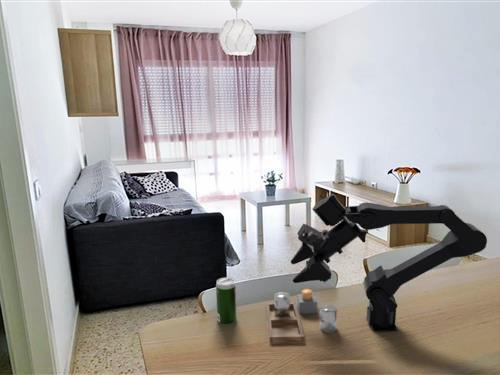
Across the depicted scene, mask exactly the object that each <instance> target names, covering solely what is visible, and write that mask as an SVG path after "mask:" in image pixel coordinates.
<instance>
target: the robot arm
mask: <svg viewBox="0 0 500 375" xmlns="http://www.w3.org/2000/svg"><path fill="white" fill-rule="evenodd" d="M312 211H313V212H314V213H315V215H316V216H317V217H318V218H319V219H320V220H321V221H322V223H323V224H324V225H325V226H330V227H332V228H331V229H330V230H328V229H322V231H319V230H318V229H316V228H314V227H312V226H310V225H308V224H306V223H302V225H301V227H300V228H299V230H298V231H297V235H298V236H297V239H298V240H299V241H300V242H301V245H300V247H299V249H298V250H297V252H296V253H295V255H294V256H293V257H292V259H291V260H290V264H291V265H296V264H298V263H301V262H303V261H305V267H304V268H303V269H301V271H299V273H297V275H295V276H294V278H293V279H292V282H293V283H294V284H297V283H305V282H312V281H313V282H314V281H320V282H323V283H327V282H328V281H329V280H331V279H332V272H331V268H330V266H329V265H328V264H329V263H330V262H331V258H332V257H333V256H334V255H336V254H337V253H338V254H339V255H341V254H343V253H344V252H343V249H344V248H345V247H346V246H348V245H349V244H351V243H352V242H353V241H354V240H356V239H358V238H359V239H360V241H361V242H362V243H366V237H367V234H368V233H367V231H371V230H375V229H376V230H377V229H382V228H385V227H388V226H391V225H412V224H413V225H414V224H415V225H417V224H418V225H421V224H422V225H424V224H425V225H427V224H442V225H444V226H445V227H447V229H449V231H448V232H447V233H446V235H445V236H444V237H443V238H442V240H441V241H440V242H438V243H437V244H434V245H433V246H430V247H429V248H427V249H425V250H424V251H422V252H420V253H418V254H415V256H412V257H410V258H409V259H407V260H405V261H403V262H401V263H399V264H398V265H396V266H394V267H392V268H389V269H388V268H386V269H384V268H383V266H382V265H378V266H377V267H376V268H375V269H373V270H371V271H367V275H365V277H364V280H363V287H364V292H365V295H366V298H367V299H368V300H369V304H368V306H367V307H366V321H367V323H368V325H369V326H370V327H371V329H372V331H374V332H383V331H385V332H386V331H388V332H389V331H392V332H393V331H398V327H397V325H396V319H397V317H396V316H397V308H398V303H397V300H396V298H395V296H394V295H395V294H397V292H398V291H399V289H400V288H401V286H403V285H405V284H407V283H408V282H410V281H412V280H414V279H416V278H418V277H419V276H421V275H423V274H425V273H427V272H429V271H431V270H432V269H435V268H437V267H439V266H440V265H442V264H444V263H446V262H447V261H450V260H452V259H455V258H464V257H469V256H472V255H475V254H479V253H480V252H482V251H484V250H485V249H486V248H487V243H488V238H487V236H486V234H485V233H484V232H482V231H481V229H479V228H477V227H476V226H475V225H473V224H471V223H469V222H465V221H463V219H461V218H460V217H459V216H458V215H457V214H456V213H455V211H453V209H451V208H450V207H449V206H448V205H446V204H445V205H444V204H440V205H437V206H436V205H428V206H427V205H426V206H425V205H423V206H388V205H385V204H380V203H374V202H362V203H359V205H353V206H352V205H350V206H349V205H348V206H344V205H343V204H342V203H341V202H340V200H339V199H338V198H337V196H336V195H335V193H331V194H330V195H328V196H326V197H324V198H322V199H320V200H319V201H318V202H316V203H315V205H314V206H313V207H312Z"/></svg>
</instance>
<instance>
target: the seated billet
mask: <svg viewBox="0 0 500 375" xmlns="http://www.w3.org/2000/svg"><path fill="white" fill-rule="evenodd" d="M273 295H274V297H273V298H274V299H273V300H274V301H273V303H274V316H275V317H290V303H291V294H290V293H288V292H285V291H279V292H275V293H274V294H273Z"/></svg>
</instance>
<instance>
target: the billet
mask: <svg viewBox="0 0 500 375" xmlns="http://www.w3.org/2000/svg"><path fill="white" fill-rule="evenodd" d="M337 313H338V309H337V308H336V307H335V306H333V305H330V304H324V305H321V306H320V307H319V322H318V323H319V330H320V331H322V332H324V333H326V334H327V333H329V334H331V333H335V332H336V331H337V317H338V316H337V315H338V314H337Z"/></svg>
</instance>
